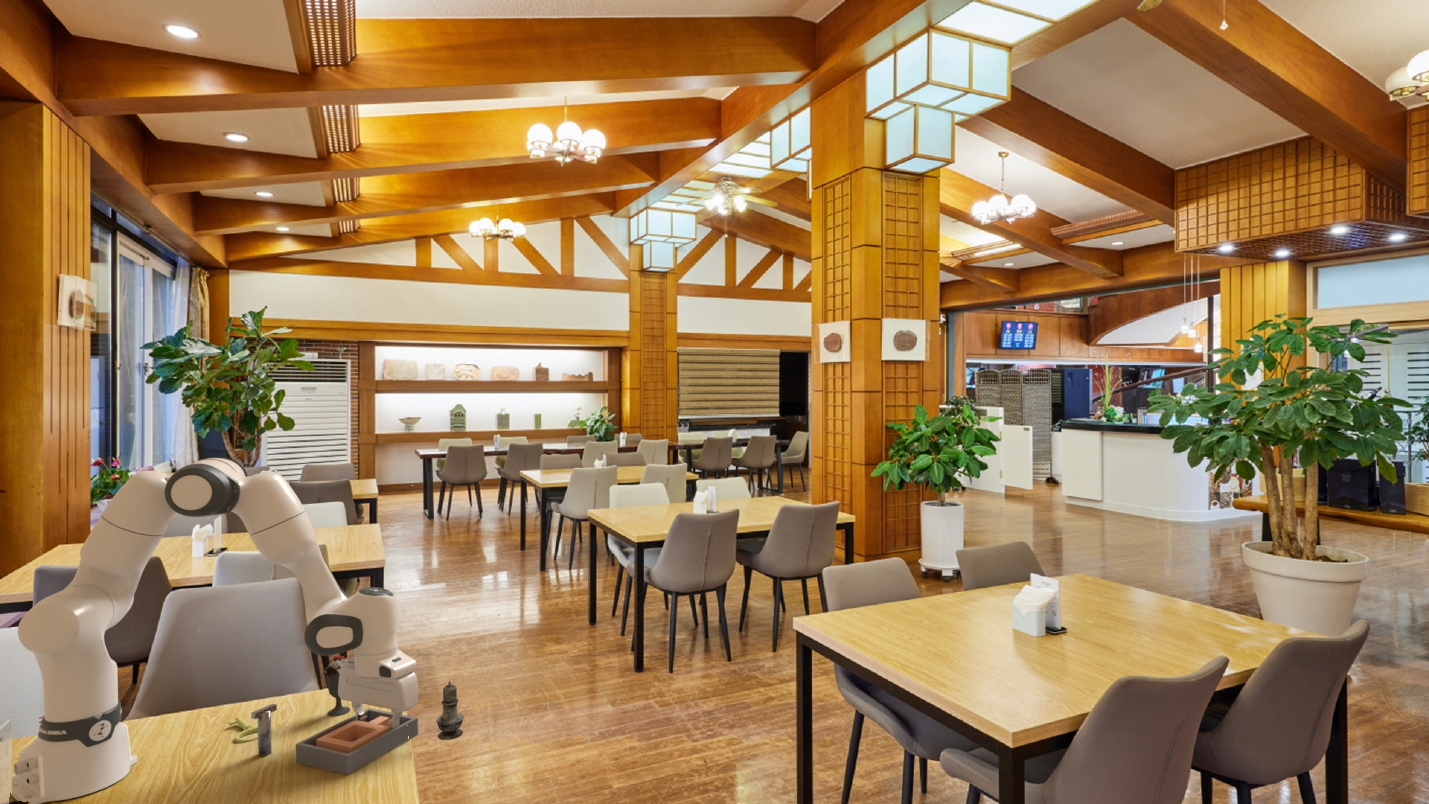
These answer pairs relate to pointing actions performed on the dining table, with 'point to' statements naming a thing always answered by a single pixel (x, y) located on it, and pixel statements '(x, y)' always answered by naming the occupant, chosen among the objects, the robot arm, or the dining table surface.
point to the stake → (264, 728)
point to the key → (247, 730)
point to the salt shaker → (450, 715)
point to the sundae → (335, 685)
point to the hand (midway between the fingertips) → (377, 723)
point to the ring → (354, 735)
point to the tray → (362, 755)
